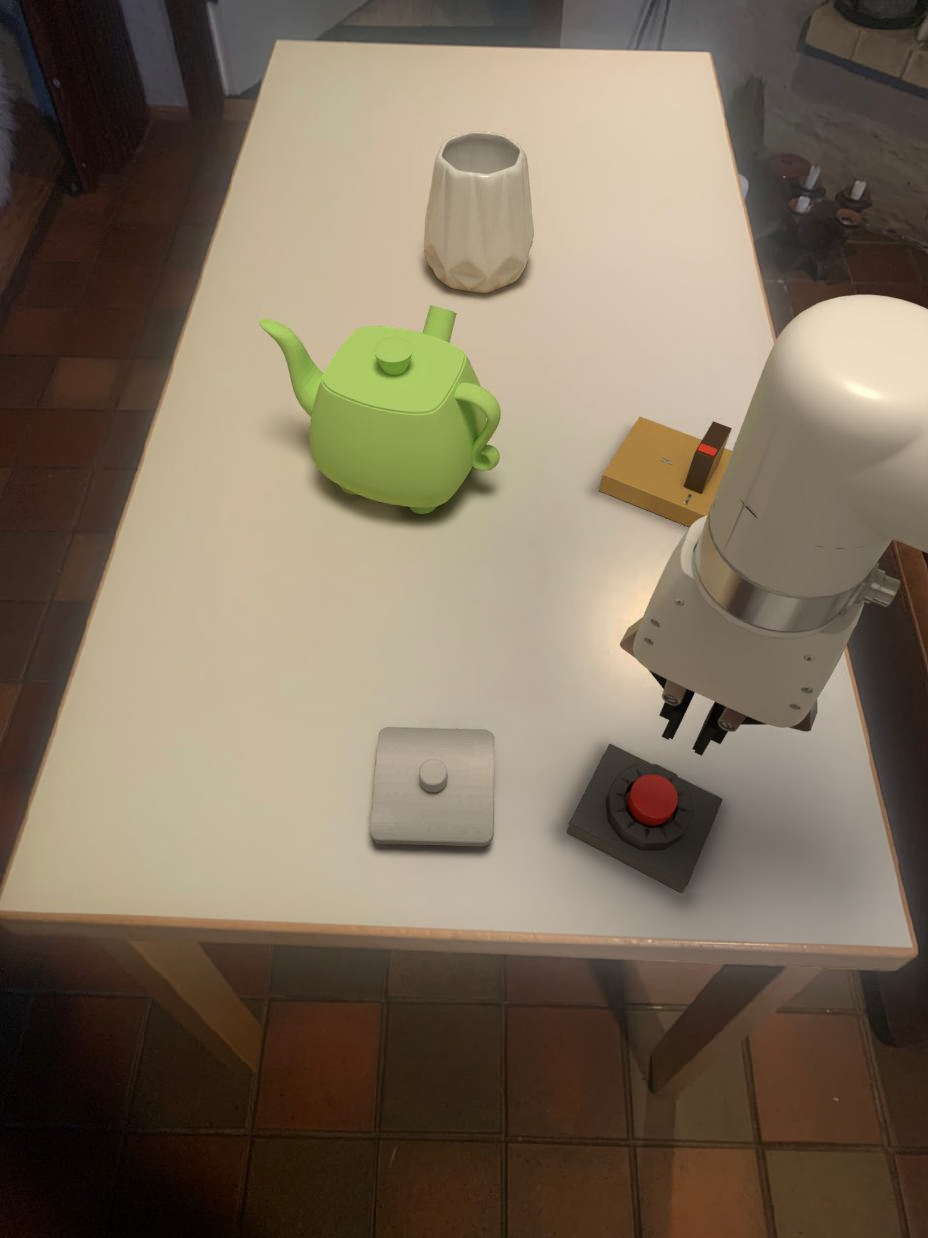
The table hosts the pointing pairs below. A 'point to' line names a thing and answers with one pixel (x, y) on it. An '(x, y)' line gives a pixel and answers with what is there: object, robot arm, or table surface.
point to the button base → (632, 842)
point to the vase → (479, 212)
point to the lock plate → (660, 473)
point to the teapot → (395, 411)
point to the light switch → (433, 787)
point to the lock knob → (707, 457)
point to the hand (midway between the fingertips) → (689, 727)
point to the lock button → (652, 799)
